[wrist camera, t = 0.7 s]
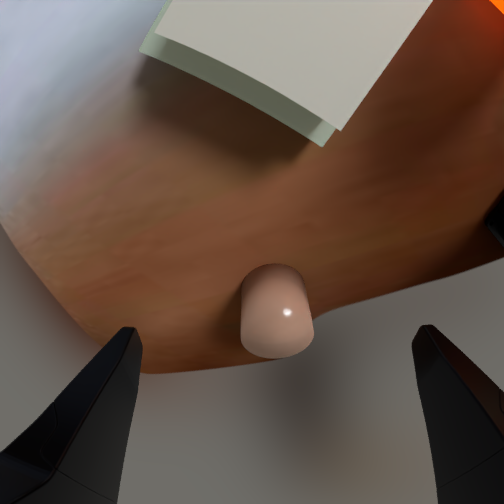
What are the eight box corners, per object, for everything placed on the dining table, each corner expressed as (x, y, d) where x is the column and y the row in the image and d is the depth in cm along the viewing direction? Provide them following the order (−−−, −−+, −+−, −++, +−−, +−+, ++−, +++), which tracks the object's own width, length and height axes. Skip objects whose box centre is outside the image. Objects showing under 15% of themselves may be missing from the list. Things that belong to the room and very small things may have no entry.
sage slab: (404, 6, 13) (427, 2, 11) (312, 133, 19) (322, 147, 16) (249, -87, 10) (249, -106, 7) (154, 50, 15) (138, 51, 13)
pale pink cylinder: (317, 279, 25) (328, 327, 21) (281, 317, 27) (286, 364, 23) (263, 253, 23) (266, 301, 19) (230, 296, 26) (227, 345, 22)
